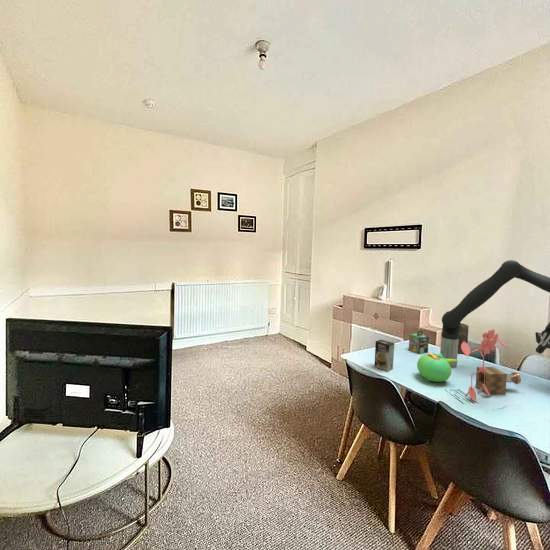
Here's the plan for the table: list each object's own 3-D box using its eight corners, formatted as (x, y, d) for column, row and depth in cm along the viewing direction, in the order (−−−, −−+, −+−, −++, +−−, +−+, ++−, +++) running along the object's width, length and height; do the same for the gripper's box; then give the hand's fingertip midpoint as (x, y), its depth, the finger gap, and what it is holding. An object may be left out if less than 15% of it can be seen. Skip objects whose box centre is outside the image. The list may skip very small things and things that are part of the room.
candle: (456, 349, 222) (458, 322, 220) (468, 352, 217) (470, 324, 215) (453, 352, 217) (455, 323, 215) (465, 355, 212) (467, 326, 210)
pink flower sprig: (451, 398, 152) (457, 327, 147) (486, 389, 162) (494, 323, 157) (482, 415, 138) (491, 337, 133) (519, 404, 147) (528, 332, 143)
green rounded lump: (410, 373, 181) (412, 348, 180) (438, 372, 183) (440, 347, 181) (428, 387, 163) (430, 360, 162) (459, 386, 165) (461, 359, 163)
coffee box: (373, 367, 190) (375, 341, 188) (379, 364, 194) (380, 339, 192) (387, 372, 183) (389, 344, 181) (393, 369, 187) (394, 342, 185)
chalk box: (417, 348, 225) (418, 328, 223) (428, 352, 216) (429, 331, 215) (407, 350, 221) (409, 329, 219) (418, 354, 213) (419, 332, 211)
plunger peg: (497, 385, 158) (498, 375, 157) (489, 381, 163) (490, 370, 163) (520, 385, 158) (521, 375, 157) (511, 380, 164) (512, 370, 163)
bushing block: (487, 394, 156) (489, 374, 155) (475, 386, 165) (476, 366, 164) (505, 394, 156) (507, 374, 155) (492, 386, 165) (493, 366, 164)
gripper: (541, 316, 164) (521, 343, 166) (569, 326, 152) (546, 355, 153) (550, 323, 166) (530, 350, 168) (577, 333, 153) (555, 362, 155)
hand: (538, 352), depth 160 cm, fingers closed
